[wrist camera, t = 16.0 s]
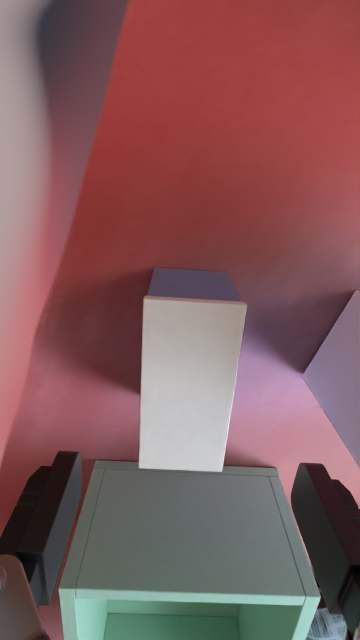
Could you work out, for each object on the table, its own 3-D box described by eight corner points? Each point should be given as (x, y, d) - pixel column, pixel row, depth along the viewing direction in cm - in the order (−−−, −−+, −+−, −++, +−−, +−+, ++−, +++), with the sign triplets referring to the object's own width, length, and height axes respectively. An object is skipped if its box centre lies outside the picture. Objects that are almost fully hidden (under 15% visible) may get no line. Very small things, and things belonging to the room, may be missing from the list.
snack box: (227, 270, 22) (247, 305, 16) (211, 403, 26) (222, 472, 20) (152, 265, 22) (142, 298, 16) (147, 400, 25) (138, 468, 19)
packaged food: (402, 609, 36) (435, 672, 31) (290, 631, 37) (306, 694, 32) (394, 556, 33) (430, 617, 28) (272, 582, 34) (287, 644, 29)
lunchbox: (95, 459, 28) (57, 588, 19) (276, 467, 28) (321, 597, 19) (100, 607, 35) (75, 748, 26) (243, 611, 36) (264, 751, 27)
